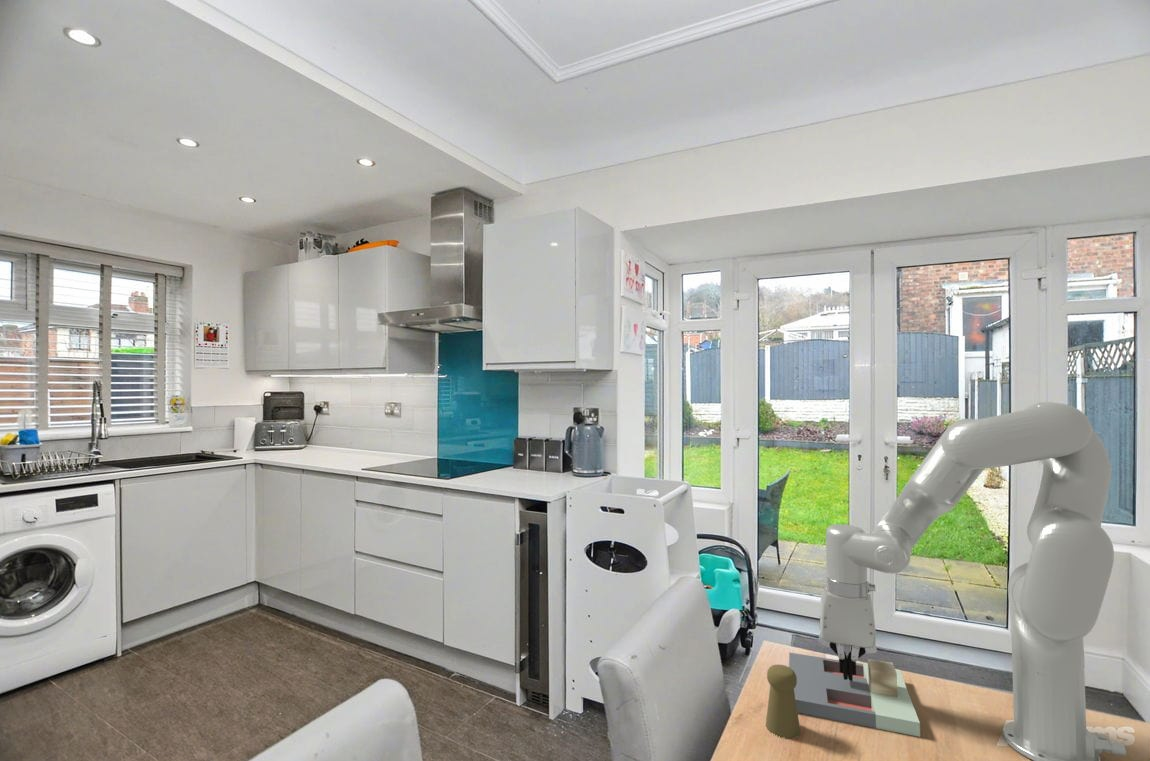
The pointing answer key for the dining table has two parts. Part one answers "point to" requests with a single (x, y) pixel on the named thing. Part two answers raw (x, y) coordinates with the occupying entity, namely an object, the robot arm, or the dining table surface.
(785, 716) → the olive pawn
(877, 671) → the beech block
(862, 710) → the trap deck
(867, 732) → the dining table surface
